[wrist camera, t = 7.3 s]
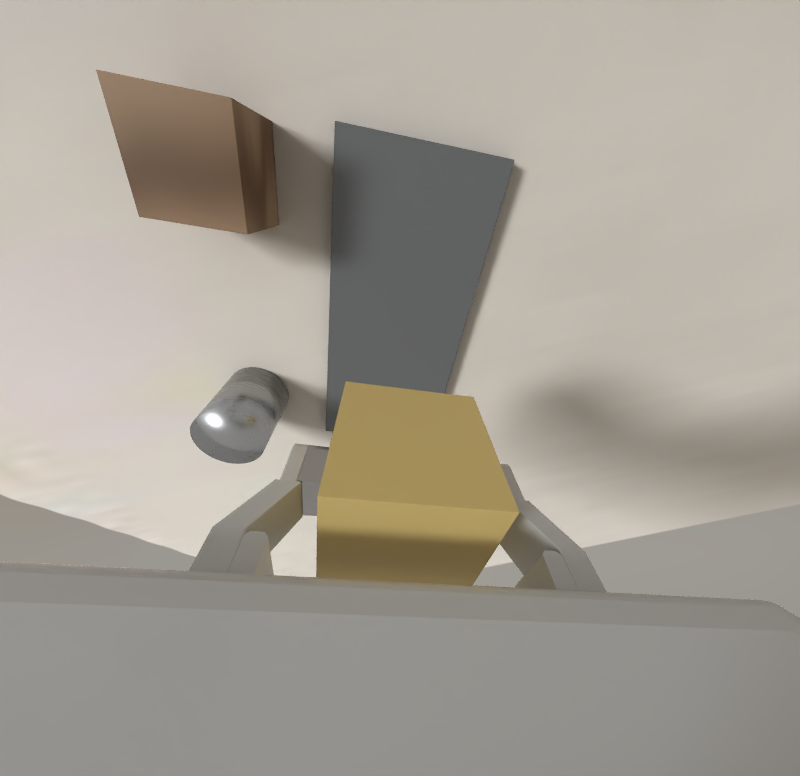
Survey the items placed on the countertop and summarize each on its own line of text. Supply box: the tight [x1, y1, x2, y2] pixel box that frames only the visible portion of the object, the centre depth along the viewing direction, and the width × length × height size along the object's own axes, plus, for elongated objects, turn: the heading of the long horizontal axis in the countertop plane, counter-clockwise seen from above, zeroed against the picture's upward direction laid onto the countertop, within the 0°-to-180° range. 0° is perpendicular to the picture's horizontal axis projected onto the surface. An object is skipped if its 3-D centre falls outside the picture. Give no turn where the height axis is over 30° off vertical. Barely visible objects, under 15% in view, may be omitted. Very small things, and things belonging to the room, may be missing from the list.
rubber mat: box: [326, 121, 514, 431], centre depth 22 cm, size 22×10×1 cm, turn 171°
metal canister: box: [190, 367, 289, 464], centre depth 23 cm, size 5×5×6 cm
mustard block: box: [316, 381, 520, 585], centre depth 11 cm, size 5×5×5 cm
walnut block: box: [96, 70, 279, 234], centre depth 15 cm, size 5×5×5 cm
